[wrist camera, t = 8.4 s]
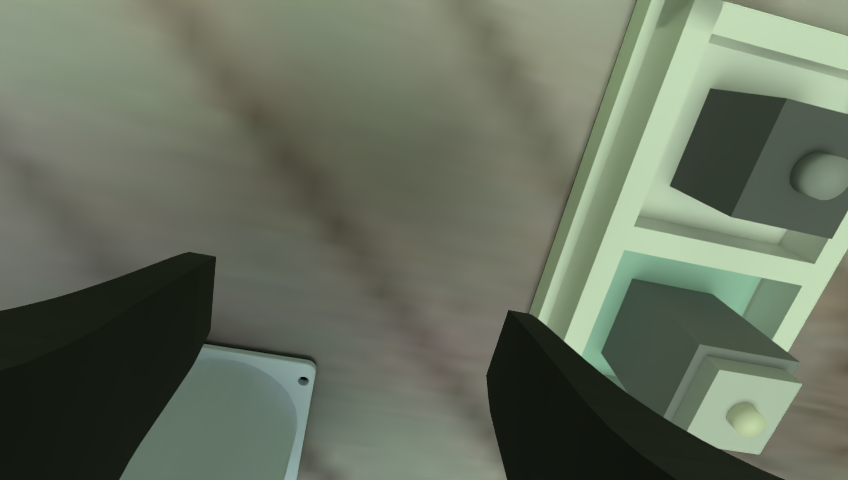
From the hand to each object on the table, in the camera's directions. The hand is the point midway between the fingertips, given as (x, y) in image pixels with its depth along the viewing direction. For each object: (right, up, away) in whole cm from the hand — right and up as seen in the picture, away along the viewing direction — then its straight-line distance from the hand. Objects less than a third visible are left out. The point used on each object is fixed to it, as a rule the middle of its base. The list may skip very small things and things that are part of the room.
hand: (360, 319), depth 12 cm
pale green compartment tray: (+13, +2, +11) cm, 17 cm away
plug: (+14, +6, +8) cm, 17 cm away
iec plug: (+12, -2, +11) cm, 16 cm away
